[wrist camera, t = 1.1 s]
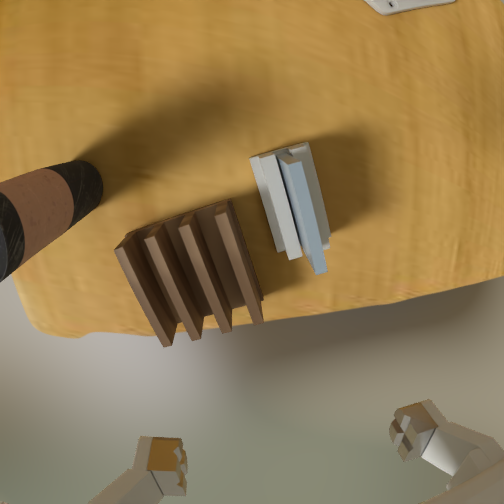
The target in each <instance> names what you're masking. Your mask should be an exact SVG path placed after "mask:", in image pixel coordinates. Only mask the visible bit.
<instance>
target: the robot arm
mask: <svg viewBox="0 0 504 504" xmlns="http://www.w3.org/2000/svg"><path fill="white" fill-rule="evenodd" d="M364 1H366V2H367V3H368V4H369V5H370V6H371V7H372V8H374V9H375V10H376V11H377V12H379V13H380V14H382V15H391V14H395V13H400V12H404V11H409V10H414V9H419V8H425V7H430V6H436V5H443V4H450V3H453V2H454V1H455V0H364ZM389 3H390V4H391V5H392V7H391V6H390V5H389ZM394 417H395V420H394V421H393V422H392V423H391V425H390V428H389V433H390V437H391V440H392V442H393V443H394V444H396V445H398V446H399V447H398V453H399V454H400V456H401V458H402V460H403V462H405V461H409V460H412V459H415V458H418V457H420V456H422V458H424V459H425V460H427V461H429V462H430V463H432V464H433V465H435V466H437V467H438V468H440V469H442V470H443V471H445V472H447V473H448V474H450V475H452V476H453V477H452V478H451V479H450V481H449V482H448V483H447V486H446V487H447V489H448V490H447V491H445V492H443V493H441V494H439V495H437V496H435V497H433V498H430V499H428V500H426V501H424V502H421V503H419V504H504V450H503V449H502V448H501V447H500V445H499V444H498V443H497V442H496V440H495V439H494V438H492V437H490V436H487V435H484V434H481V433H479V432H476V431H474V430H471V429H468V428H466V427H463V426H461V425H458V424H456V423H453V422H450V423H449V422H448V421H447V420H446V418H445V417H444V416H443V415H442V413H441V412H440V411H439V410H438V408H437V407H436V406H435V404H434V403H433V402H432V401H431V400H429V399H427V400H425V401H421V402H418V403H414V404H411V405H408V406H405V407H402V408H399V409H397V410H396V411H395V413H394ZM187 468H188V464H187V456H186V452H185V451H184V450H183V443H182V439H181V438H164V437H146V436H140V438H139V439H138V444H137V448H136V453H135V457H134V461H133V466H132V469H127V471H125V472H124V473H123V474H122V475H120V476H119V477H118V478H117V479H116V480H115V481H113V482H112V483H111V484H110V485H109V486H107V487H106V488H105V489H104V490H103V491H102V492H100V493H99V494H98V495H97V496H95V497H94V498H93V499H92V500H91V501H89V502H88V504H158V503H159V502H160V501H161V499H162V498H163V497H164V495H165V496H186V488H187V481H186V479H185V475H186V474H187ZM0 504H8V503H5V502H0Z"/></svg>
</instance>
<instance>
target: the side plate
mask: <svg viewBox="0 0 504 504" xmlns="http://www.w3.org/2000/svg"><path fill="white" fill-rule="evenodd" d="M276 160H277V163H278V167H279V170H280V174H281V177H282V181H283V184H284V188H285V191H286V195H287V199H288V202H289V206H290V210H291V213H292V217H293V221H294V224H295V228H296V232H297V236H298V240H299V243H300V245H301V247H302V249H303V251H304V253H305V255H306V256H307V258H308V260H309V262H310V264H311V266H312V268H313V270H314V272H315V274H316V275H318V274H321V273H325V272H328V271H327V266H326V261H325V257H324V252H323V248H322V243H321V239H320V234H319V230H318V226H317V222H316V217H315V213H314V209H313V205H312V201H311V197H310V193H309V189H308V185H307V181H306V177H305V174H304V170H303V166H302V162H301V161H300V160H298V159H296V158H294V157H292V156H291V155H289V154H287V153H283V154H279V155H276Z"/></svg>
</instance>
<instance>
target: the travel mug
mask: <svg viewBox="0 0 504 504" xmlns="http://www.w3.org/2000/svg"><path fill="white" fill-rule="evenodd" d="M102 192H103V184H102V179H101V176H100V174H99V172H98V171H97V169H96V168H95V167H94V166H93V165H91V164H90V163H88V162H85V161H80V160H79V161H71V162H66V163H62V164H58V165H53V166H49V167H45V168H41V169H37V170H34V171H31V172H28V173H26V174H23V175H20V176H17V177H14V178H12V179H9V180H6V181H4V182H1V183H0V282H1V281H3V280H4V279H5V278H6V277H8V276H9V275H10V274H11V273H12V272H14V271H15V270H16V269H17V268H19V267H20V266H21V265H22V264H24V263H25V262H26V261H27V260H29V259H30V258H31V257H33V256H34V255H35V254H36V253H38V252H39V251H40V250H42V249H43V248H44V247H46V246H47V245H48V244H50V243H51V242H53V241H54V240H55V239H57V238H58V237H59V236H61V235H62V234H63V233H65V232H66V231H67V230H68V229H70V228H71V227H72V226H73V225H75V224H76V223H77V222H78V221H80V220H81V219H82V218H84V217H85V216H86V215H87V214H89V213H90V212H91V211H92V210H93V209H95V208H96V206H97V205H98V204H99V202H100V200H101V197H102Z"/></svg>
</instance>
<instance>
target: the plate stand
mask: <svg viewBox="0 0 504 504" xmlns="http://www.w3.org/2000/svg"><path fill="white" fill-rule="evenodd" d="M283 153H287V154H289V155H291V156H292V157H294V158H296V159H298V160H300V161H301V162H302V166H303V170H304V174H305V177H306V181H307V185H308V189H309V193H310V197H311V201H312V205H313V209H314V213H315V217H316V222H317V226H318V230H319V234H320V239H321V243H322V248H323V250H325V249H328V248H330V244H329V239H328V238H329V237H331V233H330V228H329V224H328V219H327V215H326V210H325V206H324V202H323V198H322V193H321V189H320V185H319V181H318V177H317V173H316V169H315V165H314V161H313V158H312V154H311V150H310V146H309V143H308V142H304V143H300V144H296V145H293V146H289V147H285V148H281V149H278V150H274V151H271V152H267V153H264V154H260V155H257V156H254V157H250V158H249V159H250V163H251V166H252V169H253V172H254V176H255V179H256V182H257V185H258V189H259V192H260V195H261V198H262V202H263V205H264V208H265V212H266V215H267V218H268V222H269V225H270V229H271V232H272V235H273V239H274V242H275V246H276V249H277V252H282V251H286V253H287V256H288V258H289V260H292V259H295V258H299V257H302V252H301V248H300V246H301V245H300V243H299V240H298V236H297V232H296V228H295V224H294V221H293V217H292V213H291V210H290V206H289V202H288V199H287V195H286V191H285V188H284V184H283V181H282V177H281V174H280V170H279V167H278V163H277V160H276V155H279V154H283Z"/></svg>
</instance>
